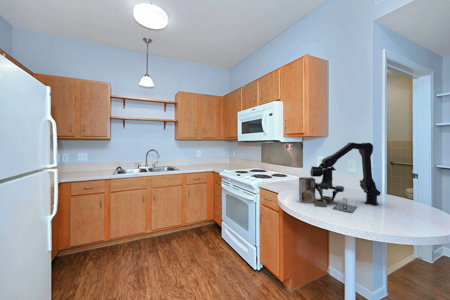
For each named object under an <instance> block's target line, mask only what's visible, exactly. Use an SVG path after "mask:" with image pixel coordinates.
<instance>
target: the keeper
mask: <svg viewBox="0 0 450 300" xmlns="http://www.w3.org/2000/svg"><path fill="white" fill-rule="evenodd" d="M357 209H358V206H357V205H351V204H348V198H346V197H343V201H342V203H341V202H339V203H337V204H336V205H334V206H333V208H332V210H334V211H335V210H336V211H340V212H343V213H350V214H353V213H354V212H355V211H356V210H357Z"/></svg>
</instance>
